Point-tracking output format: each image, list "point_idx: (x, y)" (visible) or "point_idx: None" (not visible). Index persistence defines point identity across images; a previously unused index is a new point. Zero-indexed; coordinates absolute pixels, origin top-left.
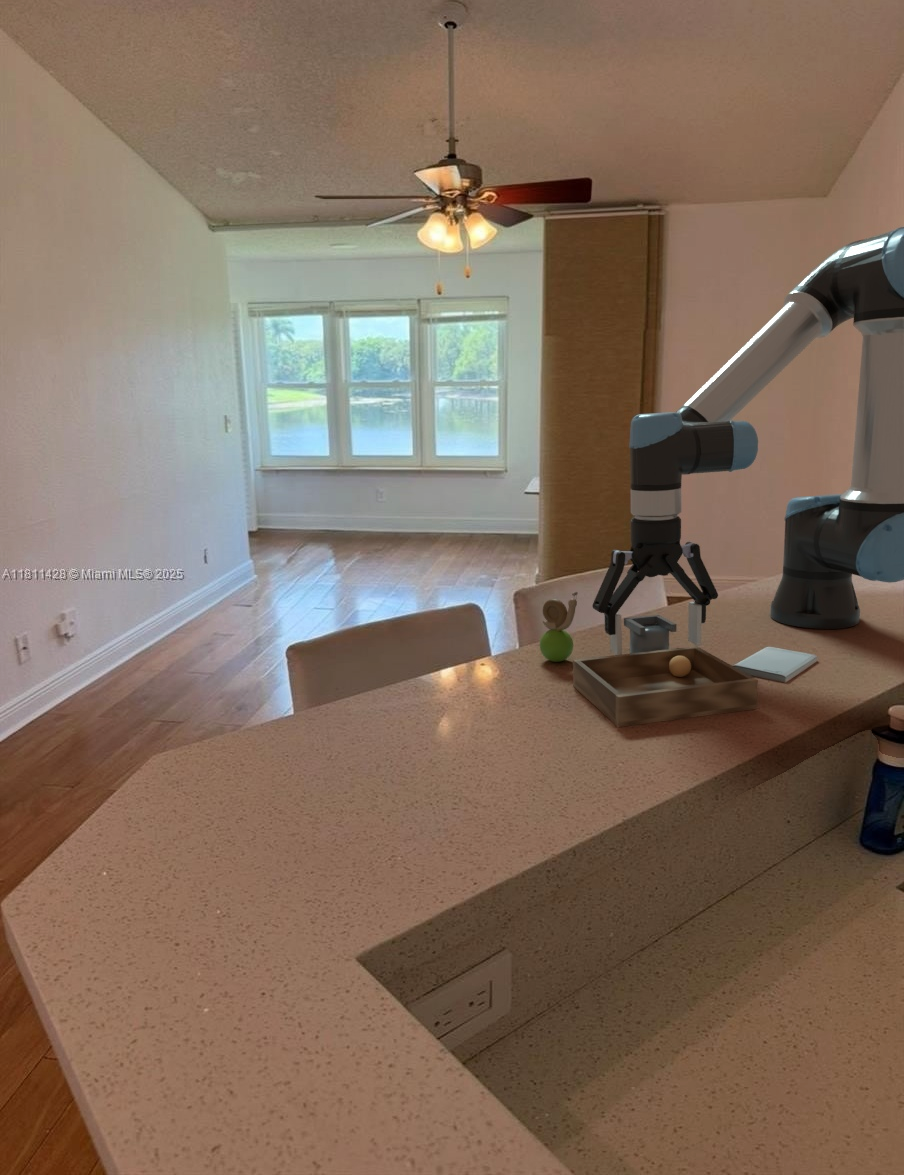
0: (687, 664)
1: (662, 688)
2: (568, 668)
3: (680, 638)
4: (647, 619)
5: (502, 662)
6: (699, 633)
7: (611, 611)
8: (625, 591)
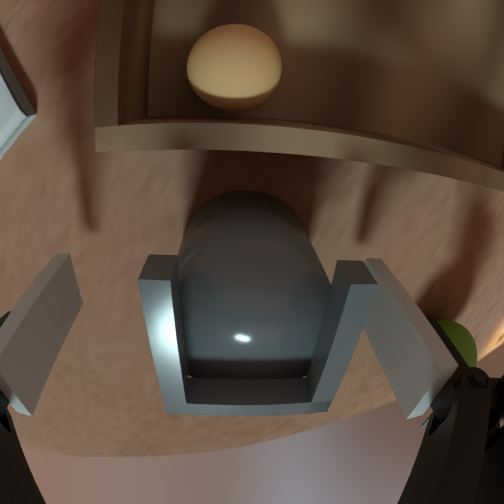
0: (222, 26)
1: (355, 4)
2: (439, 287)
3: (86, 374)
4: (229, 396)
5: (481, 341)
6: (42, 278)
7: (485, 380)
8: (469, 485)
